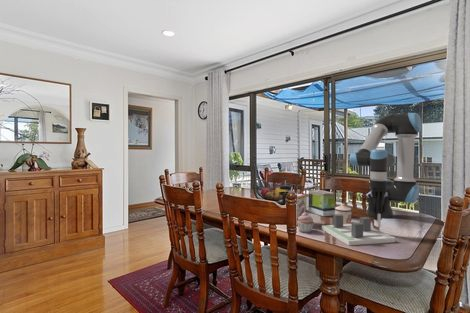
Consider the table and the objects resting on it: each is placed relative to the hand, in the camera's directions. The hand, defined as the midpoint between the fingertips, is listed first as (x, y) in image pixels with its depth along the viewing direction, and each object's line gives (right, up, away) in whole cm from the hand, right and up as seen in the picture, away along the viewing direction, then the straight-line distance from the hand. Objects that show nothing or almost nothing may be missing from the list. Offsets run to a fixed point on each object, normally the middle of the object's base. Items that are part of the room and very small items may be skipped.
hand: (377, 226), depth 137 cm
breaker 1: (-18, -1, +5) cm, 19 cm away
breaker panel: (-12, -4, -2) cm, 13 cm away
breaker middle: (-7, -1, -1) cm, 7 cm away
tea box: (-15, -3, +42) cm, 45 cm away
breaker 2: (-15, -2, -11) cm, 19 cm away
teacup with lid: (-10, -4, +19) cm, 21 cm away
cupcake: (-35, -4, +5) cm, 36 cm away
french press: (-37, -2, +52) cm, 64 cm away
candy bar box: (-36, -4, +19) cm, 41 cm away
